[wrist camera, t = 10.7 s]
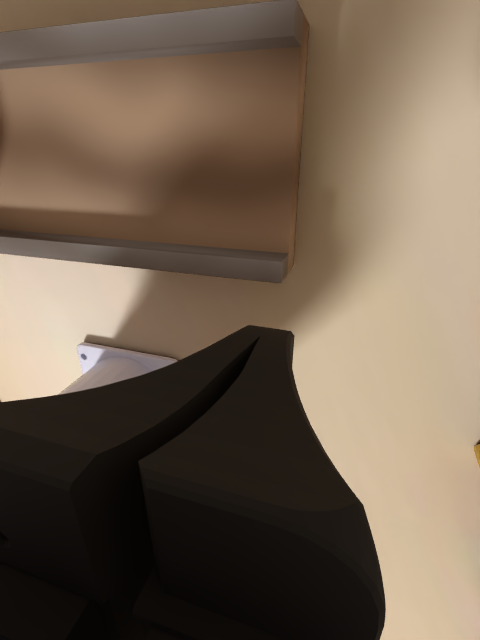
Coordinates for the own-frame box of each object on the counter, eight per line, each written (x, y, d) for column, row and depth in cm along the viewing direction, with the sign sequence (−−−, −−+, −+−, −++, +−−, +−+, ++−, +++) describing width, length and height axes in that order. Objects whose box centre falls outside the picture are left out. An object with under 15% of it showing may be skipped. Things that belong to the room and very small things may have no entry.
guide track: (293, 264, 19) (273, 295, 15) (-102, 228, 27) (-180, 242, 23) (309, 24, 14) (287, -20, 11) (-167, 69, 23) (-276, 53, 19)
